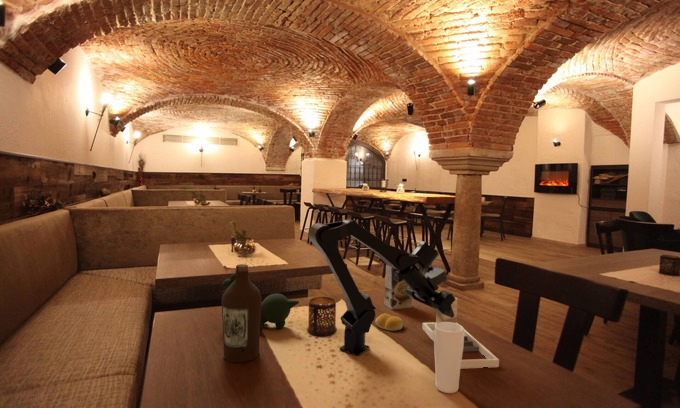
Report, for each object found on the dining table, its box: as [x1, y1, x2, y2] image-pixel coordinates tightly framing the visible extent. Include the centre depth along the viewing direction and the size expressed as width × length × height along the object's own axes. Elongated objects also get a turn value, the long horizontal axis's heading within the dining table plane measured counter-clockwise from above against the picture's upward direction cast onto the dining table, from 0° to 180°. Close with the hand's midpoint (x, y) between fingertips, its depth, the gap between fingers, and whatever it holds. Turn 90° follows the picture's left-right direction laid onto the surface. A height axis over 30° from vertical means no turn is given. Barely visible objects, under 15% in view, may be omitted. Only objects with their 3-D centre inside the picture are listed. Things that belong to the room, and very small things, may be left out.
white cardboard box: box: [383, 264, 413, 310], centre depth 153 cm, size 9×6×16 cm
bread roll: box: [375, 313, 404, 332], centre depth 133 cm, size 8×9×4 cm
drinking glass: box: [433, 322, 465, 394], centre depth 94 cm, size 7×7×15 cm
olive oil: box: [221, 263, 263, 363], centre depth 108 cm, size 11×11×25 cm
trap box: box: [422, 321, 500, 370], centre depth 118 cm, size 28×12×2 cm, turn 7°
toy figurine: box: [220, 272, 300, 330], centre depth 130 cm, size 9×19×25 cm
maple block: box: [435, 296, 459, 324], centre depth 126 cm, size 4×4×12 cm
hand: (443, 311), depth 126 cm, fingers open, 9 cm apart
